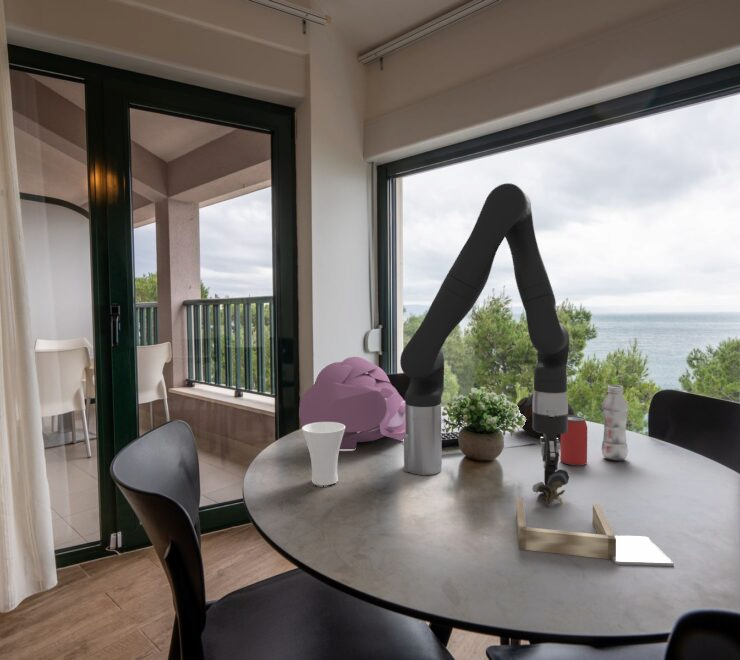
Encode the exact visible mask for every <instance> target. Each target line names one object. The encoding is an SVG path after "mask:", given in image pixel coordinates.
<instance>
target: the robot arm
mask: <svg viewBox="0 0 740 660" xmlns="http://www.w3.org/2000/svg"><path fill="white" fill-rule="evenodd" d="M504 239H506V241H507V245H508V248H509V249H510V250H509V251H510V254H511V258H512V265H513V270H514V271H513V272H514V278H515V282H516V287H517V290H518V294H519V296H520V300H521V304H522V306H523V308H524V311H525V319H526V324H527V325H526V326H527V331H528V334H529V338H530V341H531V344H532V346H533V348H534V349H535V350H536V351H537V354H538V356H537V363H536V365H535V368H534V371H533V394H532V395H533V430H534V431H536V432H539V433H543V437H539V443H540V444H539V445H540V449H541V450H540V452H541V453H540V454H541V458H542V462H543V463H542V467H543V469H544V471H543V473H544V474H543V475H544V477H543V478H544V479H543V483H544V485H546V484H547V482H548V479H549V476H550V475H551V474H552V473H554V472H556V471H558V470H559V468H558V465H559V460H560V459H559V458H560V453H559V452H560V446H561V440H559V437H556V436H557V435H558V434H564V433H566V432H567V431H568V403H569V399H568V389H567V388H568V374H567V373H568V372H567V369H568V368H567V366H568V359H569V351H570V334H569V330H568V329H567V328H566V327H565V326H564V325H563V324H561V323H560V320H559V318H558V317H559V316H558V314H557V310H556V304H557V302H556V297H555V294H554V291H553V287H552V284H551V281H550V278H549V275H548V272H547V269H546V267H545V264H544V261H543V258H542V256H541V255H542V254H541V252H540V249H539V245H538V242H537V238H536V233H535V227H534V219H533V212H532V202H531V199H530V197H529V196H528V195H527V193H526V192H525V191H524V190H523V189H522V188H521V187H520V186H518V185H516V184H515V183H509V182H508V183H507V182H506V183H502V184H498V185H497V186H495V187H494V188H493V189H492V190H491V191H490V192H489V194H488V195H487V197H486V199H485V201H484V203H483V206H482V208H481V209H480V212H479V215H478V217H477V219H476V221H475V224H474V226H473V229H472V231H471V233H470V234H469V236H468V237H467V240H466V242H465V243H464V245H463V247H462V248H461V250H460V252H459V253H458V255H457V257H456V259H455V261H454V262H453V264H452V266H451V267H450V269H449V271H448V273H446V274H447V275H446V276H445V278H444V279H443V281H442V283H441V285H440V287H439V290H438V291H437V293H436V295H435V296H434V298H433V301H432V303H431V304H430V307H429V308H428V311H427V312H426V314H425V317H424V318H423V320H422V322H421V324H420V325H419V327H418V328H417V330H416V331H415V332H414V334H413V335H412V336H411V338H410V340H409V341H408V342H407V343H406V346H405V347H404V348H403V350H402V352H401V355H400V361H399V362H400V363H399V364H400V368H401V371H402V372H403V374H404V375H405V376H407V377H408V378H410V379H409V380H410V381H409V384H408V388H407V390H406V391H405V394H404V395H405V396H404V401H405V426H406V433H405V434H404V441H403V471H404V472H405V473H411V474H414V475H421V476H427V475H428V476H430V475H435V474H439V473H440V472H441V471H442V470H443V469H442V464H443V461H442V458H443V457H442V454H443V453H442V452H443V451H442V448H443V447H442V440H443V439H442V396H443V392H444V387H445V357H444V353H443V350H442V348H443V346H444V344H445V342H446V340H447V339H448V337H449V336H450V334H451V333H452V332H453V331H454V330H455V328H456V327H457V326H459V324H460V323H461V322H462V321H463V320H464V319H465V318H466V316H467V315H468V313H470V311H471V310H472V309H473V307H474V305H475V304H476V303H477V301H478V299H479V297H480V296H481V294H482V292H483V290H484V289H485V287H486V284H487V283H488V279H489V276H490V275H491V271H492V268H493V264H494V260H495V257H496V254H497V252H498V250H499V248H500V246H501V245H502V242H503V241H504Z"/></svg>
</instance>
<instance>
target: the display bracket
mask: <svg viewBox="0 0 740 660" xmlns="http://www.w3.org/2000/svg"><path fill="white" fill-rule="evenodd" d="M515 504H516V506H515V507H516V524H517V526H516V527H517V538H518V550H525V551H533V552H534V551H535V552H543V553H551V554H560V555H569V556H577V557H588V558H595V559H596V558H597V559H606V560H612V557H616V538H615V536H616V535H615V534H614V532H613V530H612V527H611V526H610V523H609V522H608V520H607V517H606V516H605V512H604V511H603V509H602V508H601V505H600V504H597V503H596V504H595V503H593V504H592V524H593V526H594V529H595V531H596V533H587V532H581V531H579V532H578V531H577V532H576V531H566V530H561V529H560V530H559V529H549V528H548V529H547V528H537V527H530V526H529V527H528V526H527V523H526V517H525V507H524V499H523V497H516V503H515Z"/></svg>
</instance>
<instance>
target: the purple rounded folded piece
mask: <svg viewBox="0 0 740 660" xmlns="http://www.w3.org/2000/svg"><path fill="white" fill-rule="evenodd" d="M298 417H299V421H300V424H301V426H302V427H303V426H305V425H307V424H311V423H317V422H336V423H341V424H343V425H345V431H344V434H343V437H342V441H341V445H340V448H339V449H355V448H356V449H357V443H366V442H373V441H376V440H378V439H381V438H384V437H388V438H392V439H394V440H397V441H401V440H403V439H404V434H405V433H406V426H405V399H404V398H403V397H402V396H401V395H400V393H399V392H398V390H397V389H396V387H395V386H394V385H392V383H391V381H390V379H389V377H388V375H387V373H386V372H385V371H384V370H383V369H382V368H381V367H379V366H378V365H377V364H374V363H372V362H371V361H368V360H366V359H364V358H363V357H361V356H350V357H347V358H345V359H344V360H342V361H335V362H332V363H330V364H328V365H326V366H325V367H323V368H322V369H321V370H320V372H319V373H318V374H317V376H316V379H315V380H314V384H313V385H312V386H310V387H309V388H308V389H307V390H306V391H305V393H303V396H302V398H301V399H300V404H299V408H298ZM401 442H402V441H401Z"/></svg>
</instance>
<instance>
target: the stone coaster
mask: <svg viewBox="0 0 740 660" xmlns="http://www.w3.org/2000/svg"><path fill="white" fill-rule="evenodd" d="M614 536H615V538H616V557H612V559H611V560H612V562H614V564H615V565H620V566H621V565H624V566H626V565H628V566H629V565H630V566H656V567H657V566H659V567H665V566H666V567H674V564H675V563H674V562H673V560H671V559H670V558H669V556H668V555H666V554H665V553H664V552H663V551H662V550H661V549H660V548H659V547H658V545H656V544H655V543H654V542H653V541H652V540H651V539H650V538H649V537H648V536H643V535H642V536H641V535H614Z"/></svg>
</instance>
